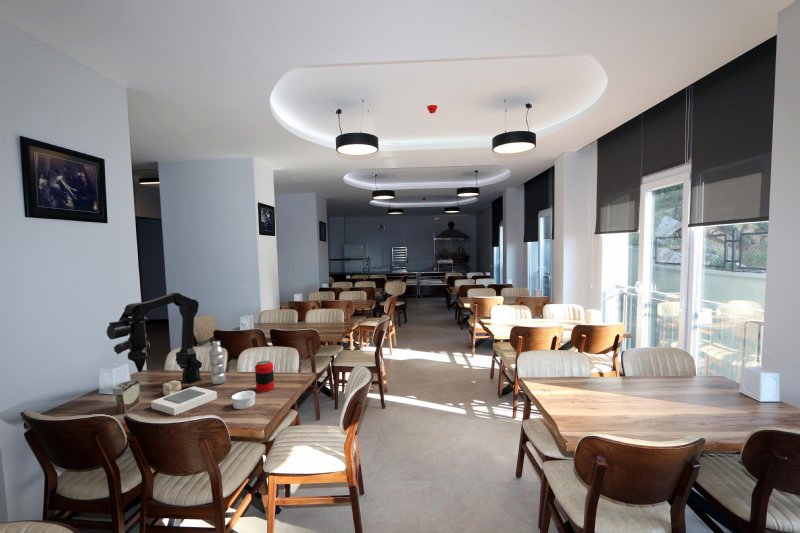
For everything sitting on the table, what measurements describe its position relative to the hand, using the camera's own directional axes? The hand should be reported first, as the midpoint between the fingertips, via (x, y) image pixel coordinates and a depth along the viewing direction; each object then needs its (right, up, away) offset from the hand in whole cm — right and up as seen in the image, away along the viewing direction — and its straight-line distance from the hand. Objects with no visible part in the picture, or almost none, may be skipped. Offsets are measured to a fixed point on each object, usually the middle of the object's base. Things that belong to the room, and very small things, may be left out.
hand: (141, 369), depth 164 cm
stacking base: (+22, -13, -5) cm, 26 cm away
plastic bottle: (+25, -11, +17) cm, 32 cm away
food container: (-1, -14, -9) cm, 16 cm away
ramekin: (+48, -12, -10) cm, 50 cm away
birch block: (+10, -13, +6) cm, 17 cm away
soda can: (+50, -11, +7) cm, 52 cm away
